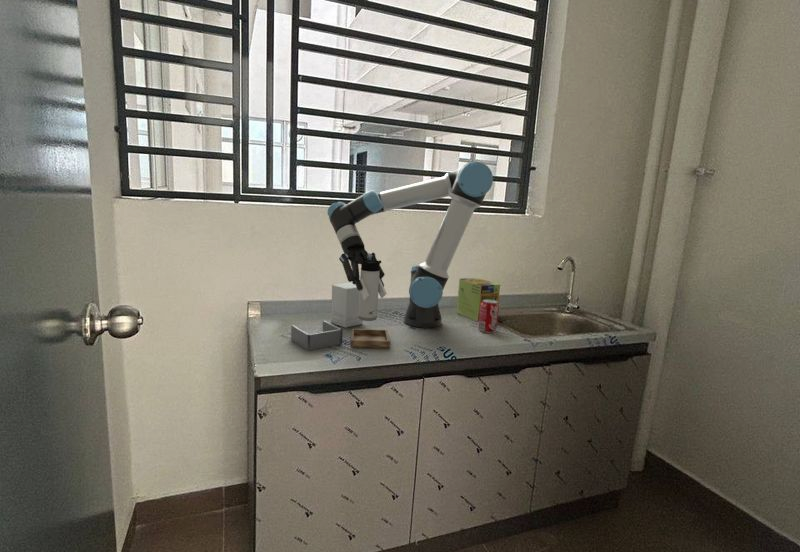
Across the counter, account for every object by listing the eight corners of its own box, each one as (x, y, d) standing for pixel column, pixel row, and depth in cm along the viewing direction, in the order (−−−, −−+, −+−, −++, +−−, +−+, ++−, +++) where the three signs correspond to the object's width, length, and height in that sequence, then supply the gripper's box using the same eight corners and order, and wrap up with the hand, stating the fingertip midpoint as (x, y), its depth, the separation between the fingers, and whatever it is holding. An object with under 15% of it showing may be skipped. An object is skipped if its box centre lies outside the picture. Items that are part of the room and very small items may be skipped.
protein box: (477, 322, 183) (481, 285, 180) (455, 312, 196) (458, 278, 194) (497, 320, 188) (501, 284, 185) (474, 310, 201) (477, 277, 199)
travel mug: (375, 322, 146) (378, 262, 142) (355, 319, 147) (359, 260, 143) (379, 317, 152) (383, 259, 148) (361, 315, 153) (364, 257, 149)
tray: (386, 336, 158) (387, 329, 157) (389, 348, 145) (390, 341, 145) (351, 335, 156) (351, 328, 156) (351, 347, 144) (351, 340, 143)
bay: (342, 344, 147) (342, 329, 146) (307, 350, 139) (307, 335, 138) (324, 334, 156) (324, 320, 155) (291, 339, 148) (291, 325, 147)
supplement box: (363, 324, 171) (365, 286, 168) (345, 328, 164) (346, 288, 161) (348, 318, 177) (349, 282, 174) (330, 322, 170) (331, 284, 168)
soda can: (498, 330, 173) (501, 300, 171) (494, 335, 167) (497, 304, 165) (480, 327, 176) (483, 297, 174) (475, 331, 170) (478, 301, 168)
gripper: (368, 247, 163) (393, 300, 154) (322, 248, 151) (345, 305, 142) (377, 234, 158) (403, 288, 149) (330, 234, 146) (355, 293, 137)
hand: (375, 296), depth 145 cm, fingers closed on travel mug, 6 cm apart
